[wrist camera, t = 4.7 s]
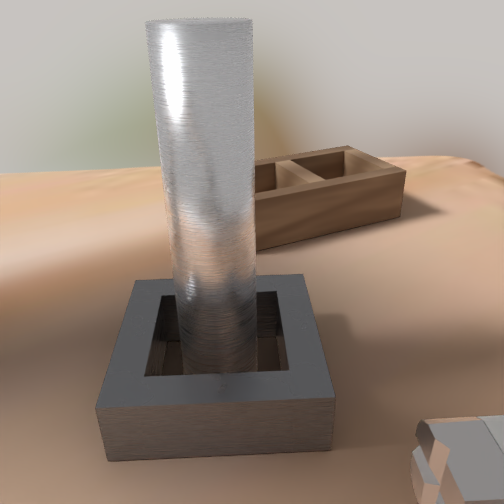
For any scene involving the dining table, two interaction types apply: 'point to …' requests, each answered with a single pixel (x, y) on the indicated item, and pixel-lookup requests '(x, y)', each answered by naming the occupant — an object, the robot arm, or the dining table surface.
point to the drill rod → (208, 184)
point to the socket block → (216, 384)
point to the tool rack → (323, 194)
